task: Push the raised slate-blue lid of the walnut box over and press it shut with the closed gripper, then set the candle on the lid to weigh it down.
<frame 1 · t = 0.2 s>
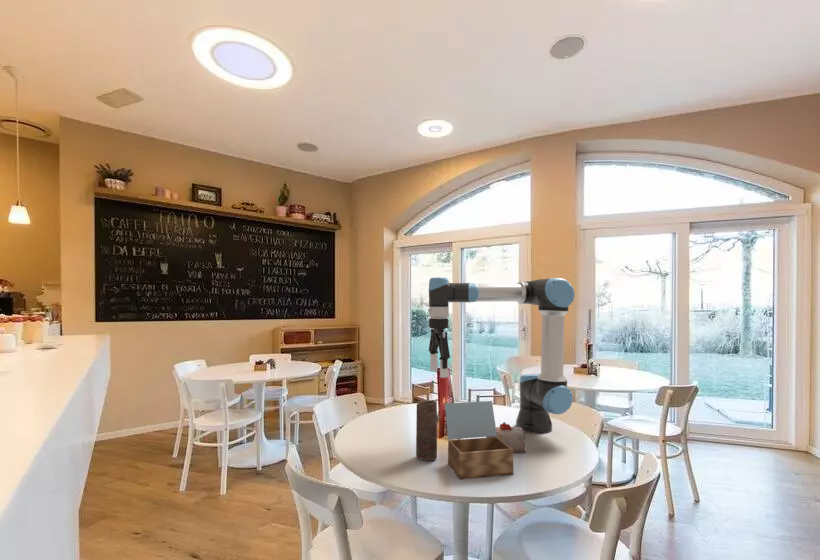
hand: (438, 374, 156), 27 cm above the table, fingers open, 13 cm apart
box: (479, 469, 136), on the table
lid: (470, 419, 144), point 14 cm above the table, hinge at 110.0°
candle: (426, 459, 144), on the table
food item: (505, 451, 153), on the table
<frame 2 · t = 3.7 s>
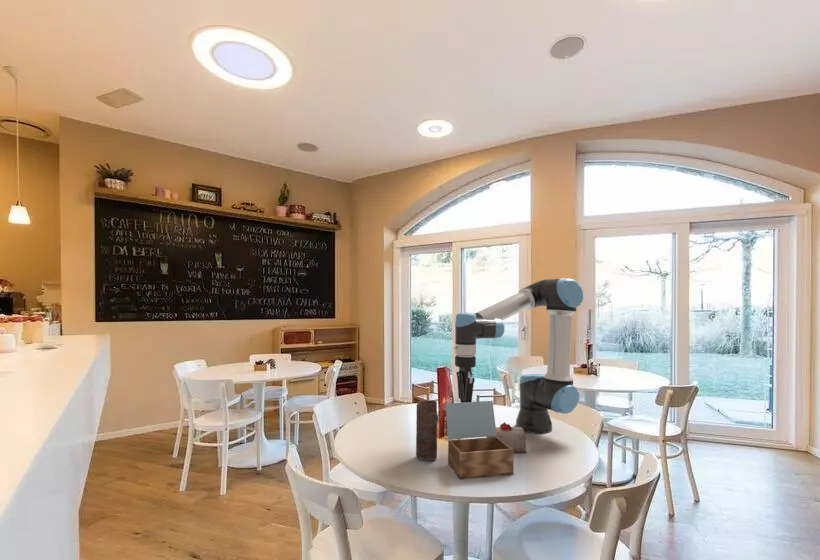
hand: (464, 420, 150), 12 cm above the table, fingers closed
lid: (470, 419, 144), point 14 cm above the table, hinge at 107.6°, touching gripper, hand
everything else where it was.
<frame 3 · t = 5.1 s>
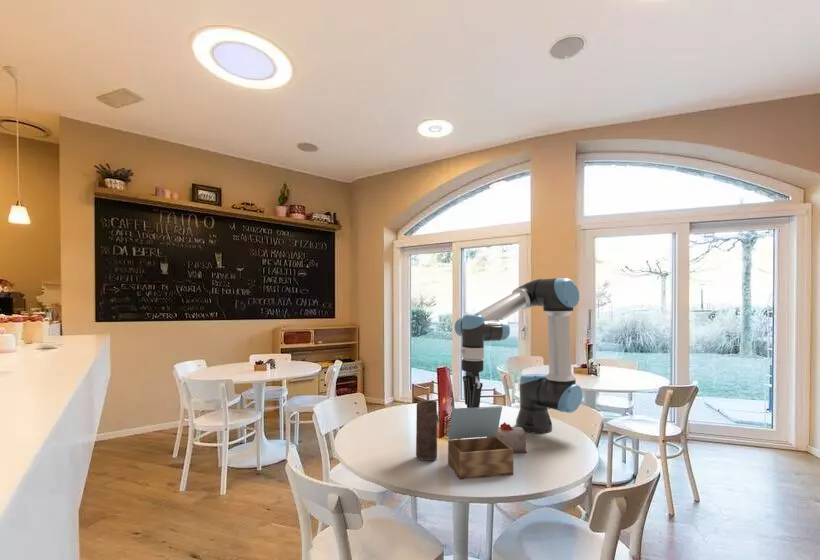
hand: (471, 427, 142), 12 cm above the table, fingers closed
lid: (475, 422, 140), point 14 cm above the table, hinge at 68.9°, touching gripper
everything else where it was.
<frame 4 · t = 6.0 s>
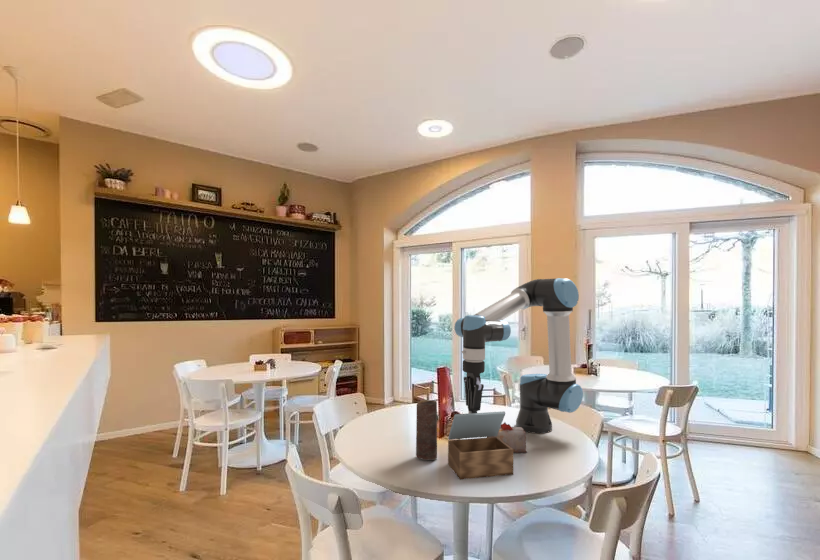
hand: (472, 429, 141), 11 cm above the table, fingers closed
lid: (476, 425, 139), point 13 cm above the table, hinge at 55.3°, touching gripper
everything else where it was.
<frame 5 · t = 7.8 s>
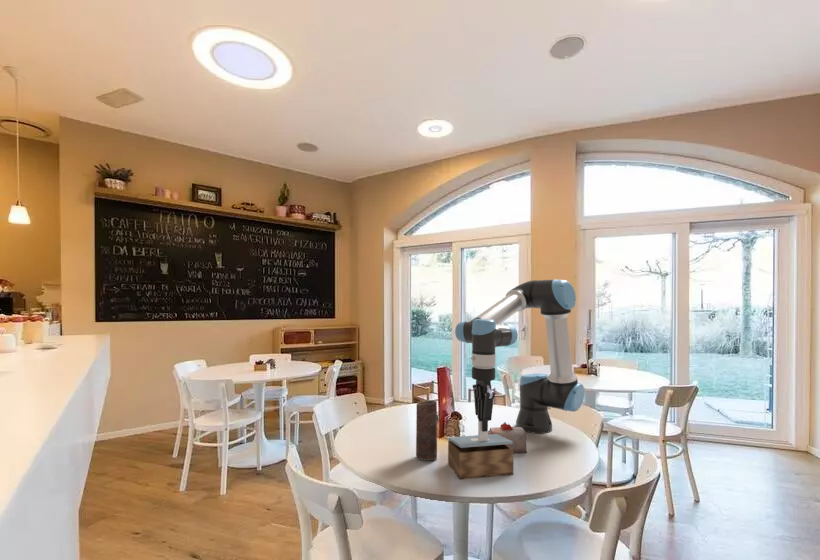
hand: (483, 440, 133), 11 cm above the table, fingers closed
lid: (479, 440, 136), point 9 cm above the table, hinge at 7.1°
everything else where it was.
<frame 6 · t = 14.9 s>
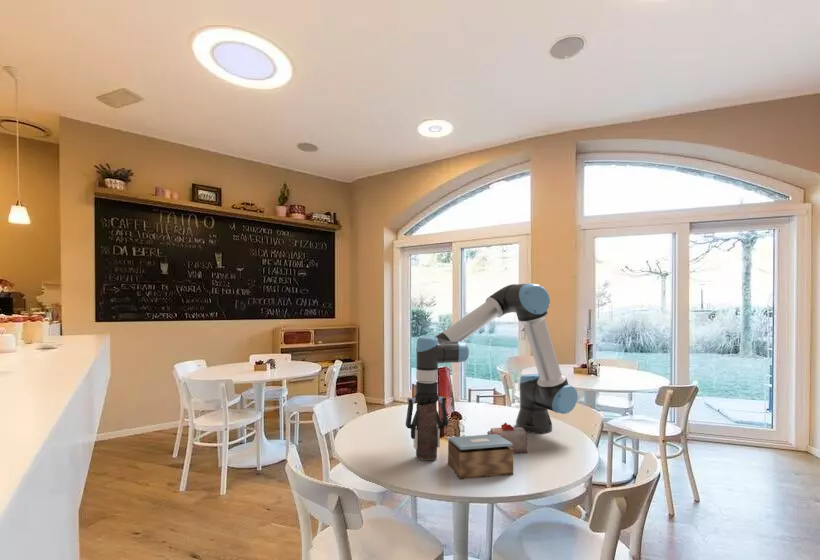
hand: (426, 446, 144), 4 cm above the table, fingers closed on candle, 7 cm apart
lid: (479, 441, 136), point 9 cm above the table, hinge at 4.2°
candle: (426, 459, 144), on the table, touching gripper
everything else where it was.
when the fingers open (14 cm above the table, at t = 20.2 s): candle stays where it is, resting on lid.
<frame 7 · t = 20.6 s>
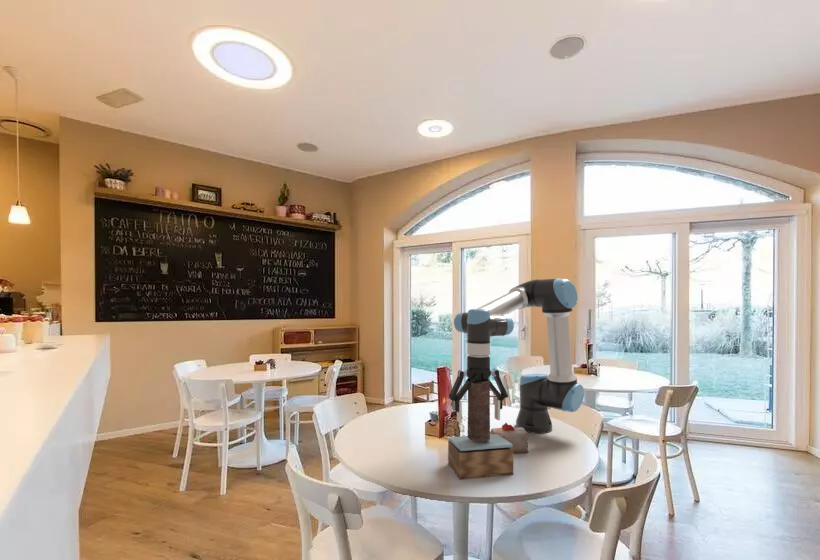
hand: (478, 420, 136), 16 cm above the table, fingers open, 13 cm apart
lid: (479, 442, 136), point 9 cm above the table, hinge at 2.5°, touching candle
candle: (478, 441, 136), point 9 cm above the table, touching lid
everything else where it was.
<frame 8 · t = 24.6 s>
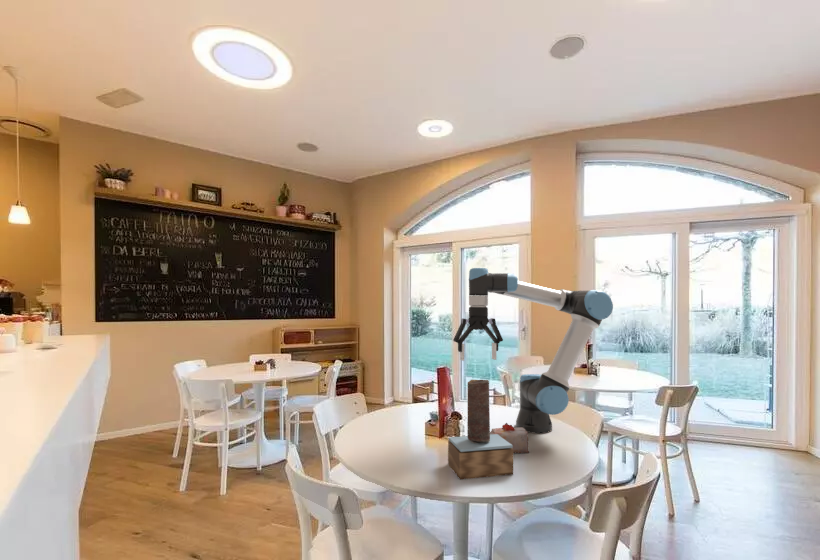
hand: (478, 359, 164), 32 cm above the table, fingers open, 13 cm apart
lid: (479, 442, 136), point 9 cm above the table, hinge at 1.3°, touching candle
at the end: lid at +1° (first picture: +110°); candle touching lid; candle tilted 1° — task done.
